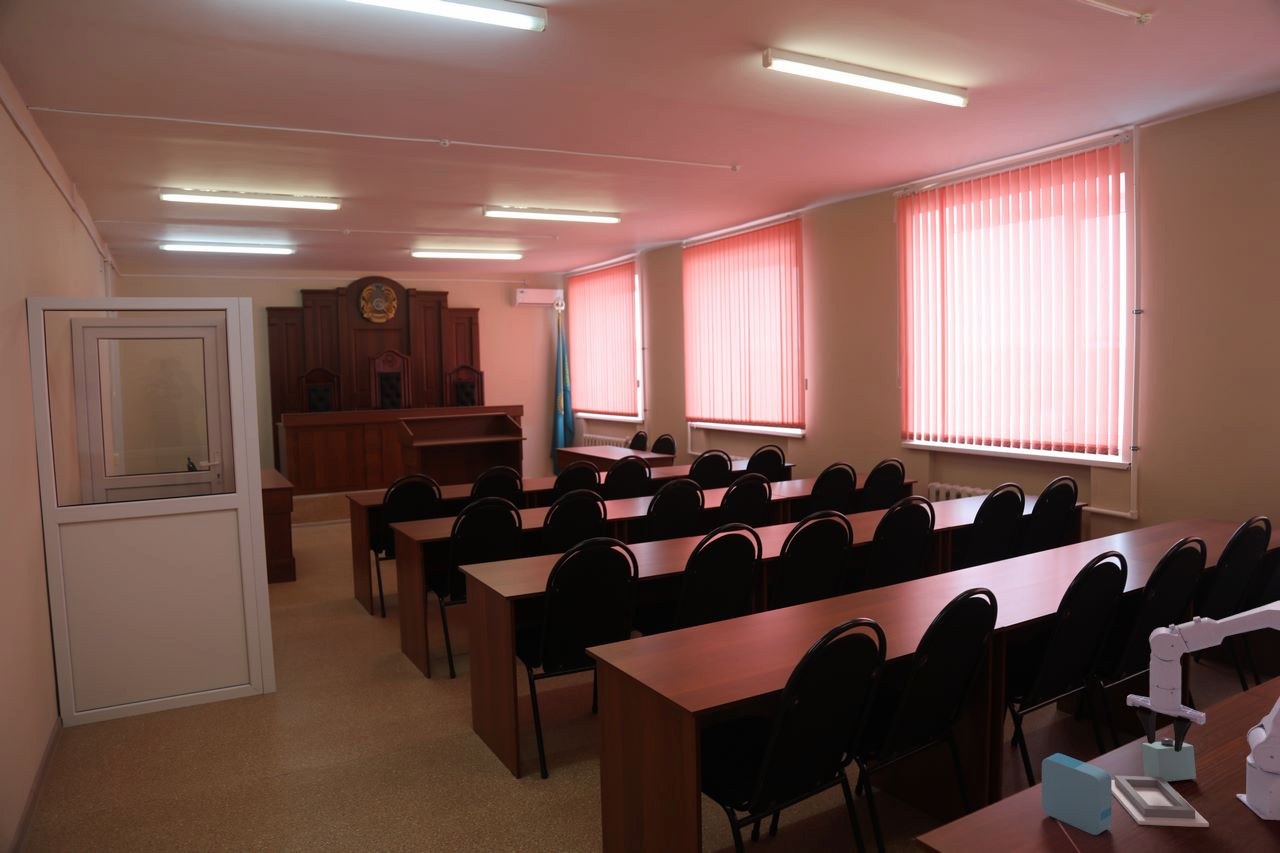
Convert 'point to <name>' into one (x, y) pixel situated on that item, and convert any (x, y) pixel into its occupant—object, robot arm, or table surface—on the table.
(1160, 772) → the key block
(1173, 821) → the socket plate
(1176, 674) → the robot arm
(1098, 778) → the data package
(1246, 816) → the table surface
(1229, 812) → the table surface
